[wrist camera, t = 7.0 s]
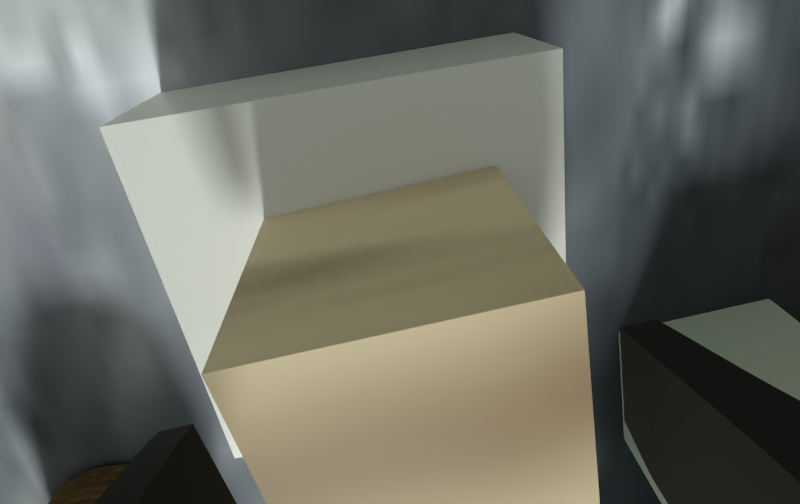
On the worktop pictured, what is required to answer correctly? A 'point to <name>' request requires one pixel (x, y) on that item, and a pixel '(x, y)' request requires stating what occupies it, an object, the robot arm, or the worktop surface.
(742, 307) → the sage cube
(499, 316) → the maple cube
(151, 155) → the grey base block
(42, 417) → the worktop surface
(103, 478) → the utensil holder
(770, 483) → the robot arm
